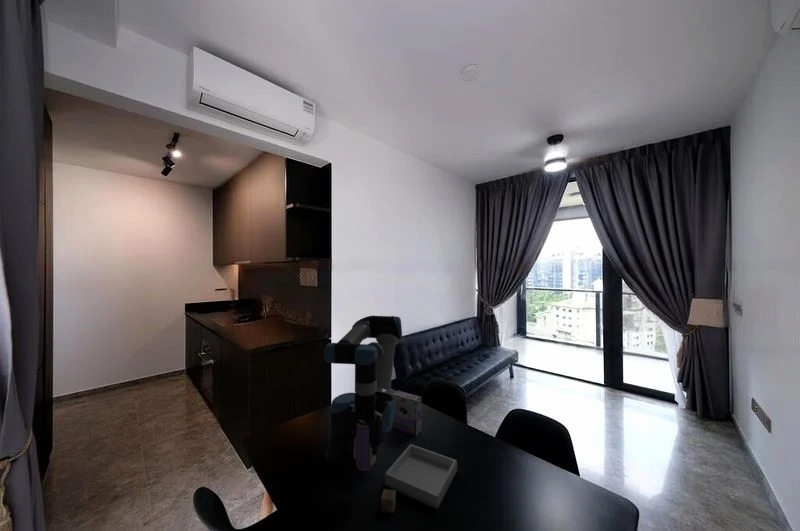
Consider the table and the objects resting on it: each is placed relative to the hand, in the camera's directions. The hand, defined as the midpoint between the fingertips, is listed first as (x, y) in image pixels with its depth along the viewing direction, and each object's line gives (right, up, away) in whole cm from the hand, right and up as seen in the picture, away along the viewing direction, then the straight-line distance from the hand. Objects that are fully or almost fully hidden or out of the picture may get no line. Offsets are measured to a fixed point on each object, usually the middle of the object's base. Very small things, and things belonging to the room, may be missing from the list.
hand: (364, 459), depth 93 cm
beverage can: (0, -2, 0) cm, 2 cm away
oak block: (+8, -11, -6) cm, 15 cm away
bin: (+20, -12, +7) cm, 24 cm away
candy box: (+15, -13, +38) cm, 43 cm away
